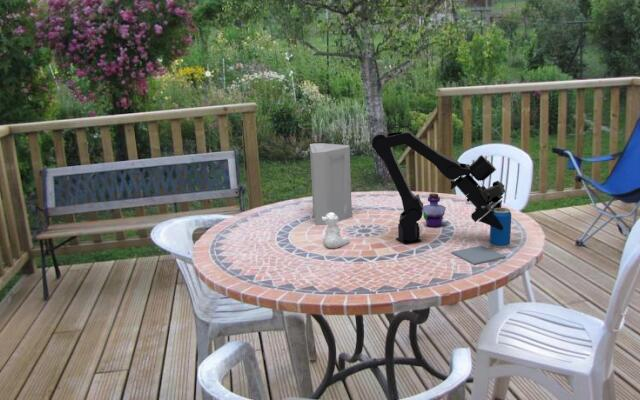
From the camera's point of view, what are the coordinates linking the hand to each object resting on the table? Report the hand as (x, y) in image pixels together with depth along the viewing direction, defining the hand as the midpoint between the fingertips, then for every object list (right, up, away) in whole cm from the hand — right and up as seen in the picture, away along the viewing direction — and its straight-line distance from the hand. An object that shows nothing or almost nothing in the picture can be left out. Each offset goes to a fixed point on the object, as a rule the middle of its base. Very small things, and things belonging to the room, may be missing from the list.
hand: (504, 226), depth 208 cm
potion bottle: (-18, -1, +27) cm, 33 cm away
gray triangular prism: (-55, +2, +43) cm, 70 cm away
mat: (-10, -9, -6) cm, 15 cm away
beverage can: (-1, -6, +2) cm, 7 cm away
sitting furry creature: (-55, -7, +10) cm, 57 cm away
